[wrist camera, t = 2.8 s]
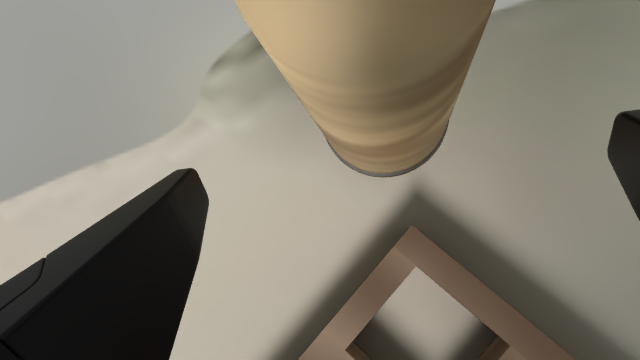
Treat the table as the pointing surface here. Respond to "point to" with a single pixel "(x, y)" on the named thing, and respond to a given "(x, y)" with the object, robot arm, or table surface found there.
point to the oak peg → (373, 70)
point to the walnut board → (417, 250)
